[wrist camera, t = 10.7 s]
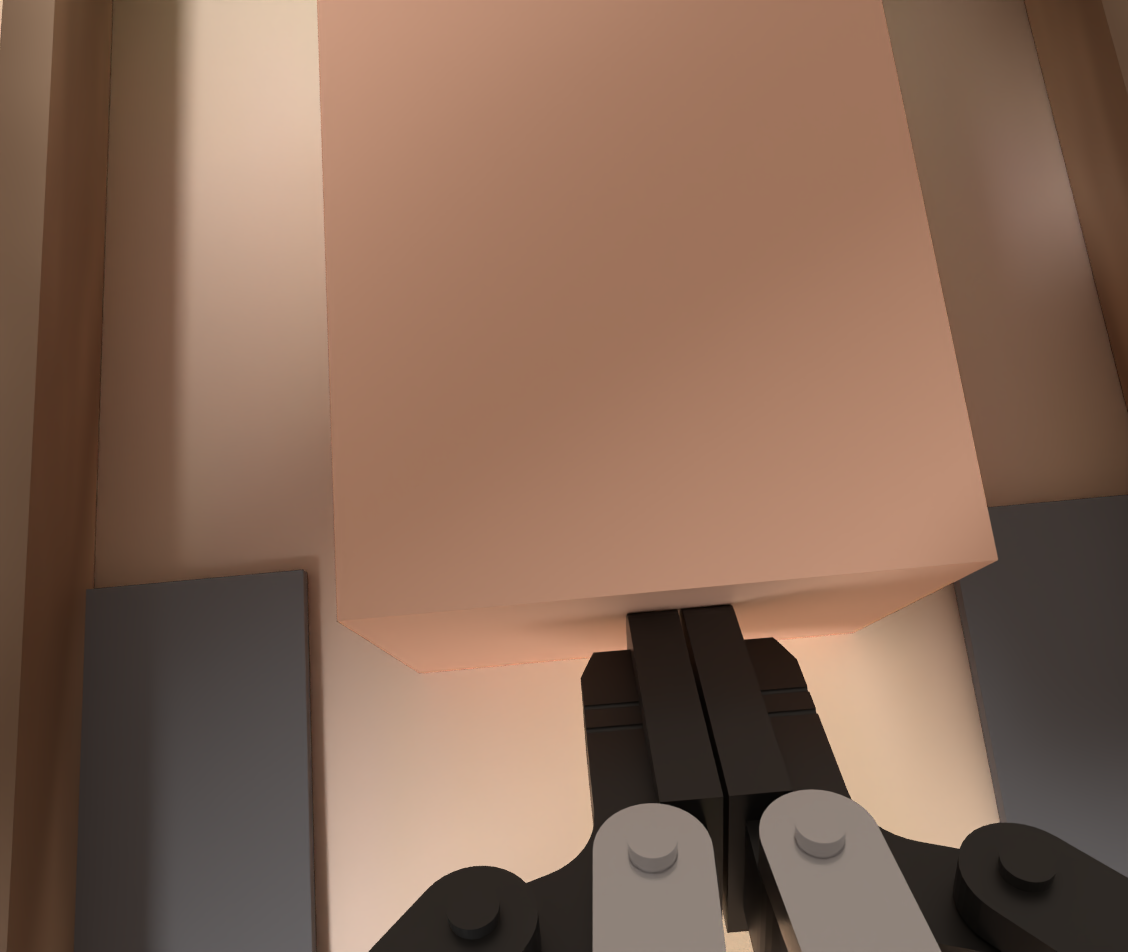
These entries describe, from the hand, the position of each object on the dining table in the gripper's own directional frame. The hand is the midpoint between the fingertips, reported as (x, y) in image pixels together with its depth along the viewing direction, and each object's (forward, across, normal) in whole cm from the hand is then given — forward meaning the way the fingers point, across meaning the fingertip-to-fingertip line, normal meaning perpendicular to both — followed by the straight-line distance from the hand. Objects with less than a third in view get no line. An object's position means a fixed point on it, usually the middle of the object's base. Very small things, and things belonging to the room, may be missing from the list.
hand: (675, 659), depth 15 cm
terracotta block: (+8, 0, -2) cm, 8 cm away
